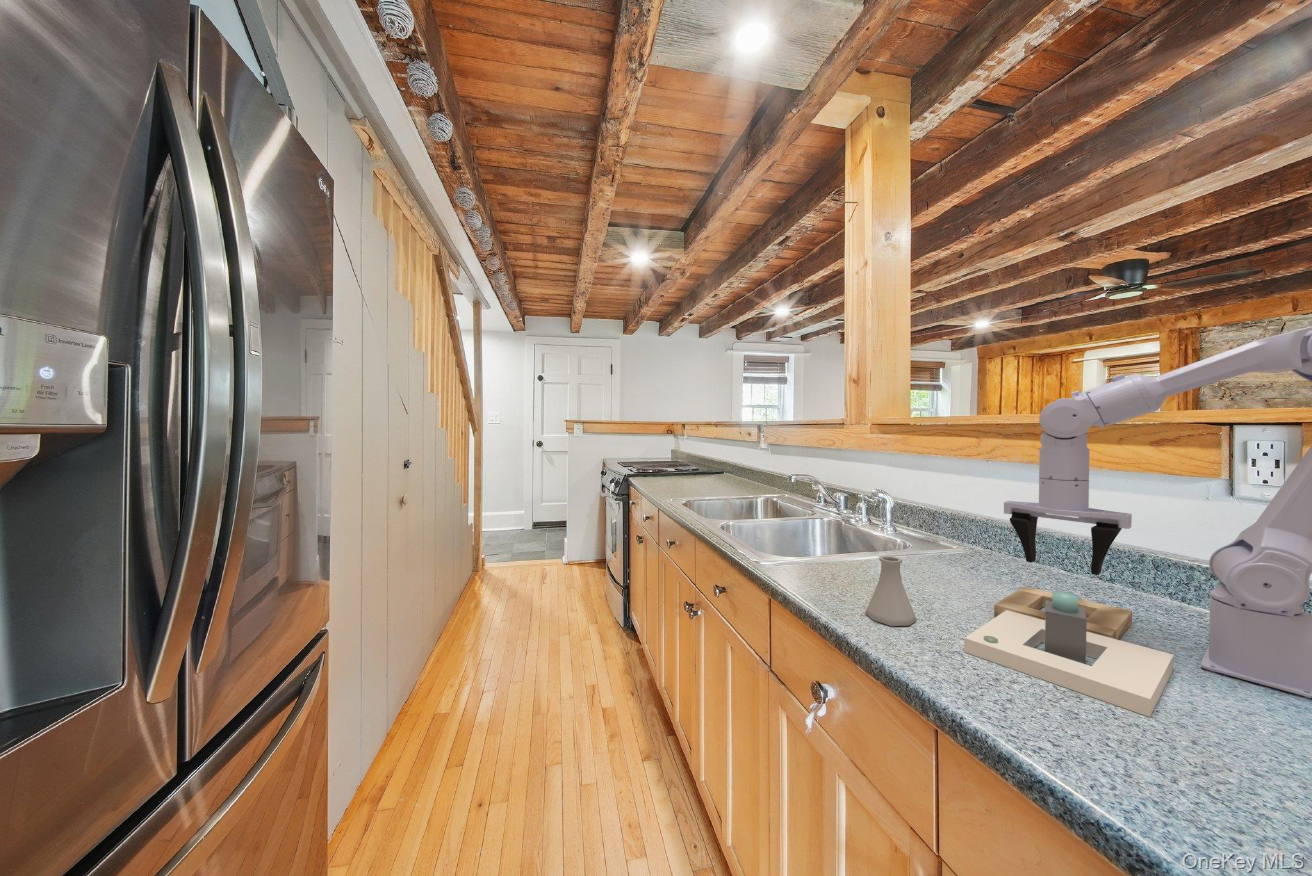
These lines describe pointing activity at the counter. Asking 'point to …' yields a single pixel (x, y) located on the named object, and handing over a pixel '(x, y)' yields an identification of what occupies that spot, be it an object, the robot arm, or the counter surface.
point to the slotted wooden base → (1098, 615)
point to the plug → (1065, 627)
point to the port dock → (1113, 678)
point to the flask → (890, 596)
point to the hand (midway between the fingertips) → (1062, 566)
